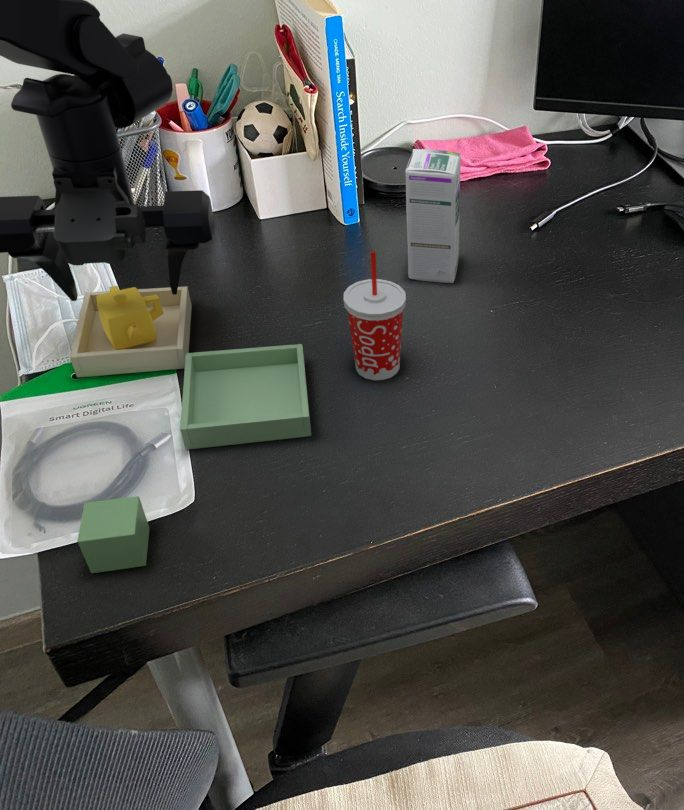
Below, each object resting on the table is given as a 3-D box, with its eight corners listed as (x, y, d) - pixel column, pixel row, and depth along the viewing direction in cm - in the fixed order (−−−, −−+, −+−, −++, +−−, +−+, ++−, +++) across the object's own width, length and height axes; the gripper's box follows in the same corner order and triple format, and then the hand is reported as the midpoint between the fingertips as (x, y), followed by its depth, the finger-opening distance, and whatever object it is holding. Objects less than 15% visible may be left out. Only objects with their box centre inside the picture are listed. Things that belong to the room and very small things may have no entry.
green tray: (185, 450, 75) (180, 429, 73) (190, 373, 83) (185, 352, 81) (311, 436, 78) (309, 416, 76) (304, 363, 86) (302, 343, 84)
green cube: (90, 574, 64) (76, 541, 62) (97, 534, 67) (83, 502, 64) (146, 566, 65) (134, 534, 63) (149, 527, 68) (139, 495, 65)
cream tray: (76, 377, 81) (69, 357, 79) (91, 312, 89) (84, 292, 87) (187, 368, 83) (182, 348, 82) (191, 305, 91) (187, 286, 90)
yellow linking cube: (179, 350, 84) (168, 308, 81) (119, 366, 82) (106, 324, 78) (156, 309, 89) (146, 269, 86) (99, 324, 86) (86, 282, 83)
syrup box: (454, 284, 100) (458, 173, 90) (406, 279, 99) (404, 168, 90) (459, 259, 104) (463, 151, 94) (412, 255, 104) (412, 146, 94)
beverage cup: (336, 372, 85) (326, 256, 76) (369, 342, 90) (363, 228, 80) (387, 392, 84) (383, 276, 74) (417, 360, 88) (417, 247, 79)
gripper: (-62, 195, 64) (4, 352, 74) (194, 187, 69) (223, 336, 79) (-29, 134, 72) (27, 284, 82) (198, 131, 76) (224, 273, 87)
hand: (125, 295), depth 82 cm, fingers open, 9 cm apart
